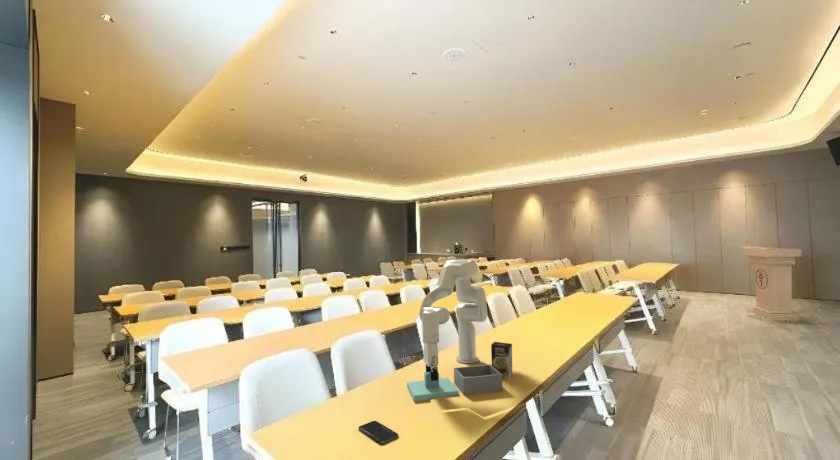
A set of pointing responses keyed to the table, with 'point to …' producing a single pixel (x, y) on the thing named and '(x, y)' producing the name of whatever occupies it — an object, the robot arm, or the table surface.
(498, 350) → the coffee box
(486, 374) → the tub
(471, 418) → the table surface
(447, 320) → the robot arm
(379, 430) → the phone
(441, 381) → the lid
